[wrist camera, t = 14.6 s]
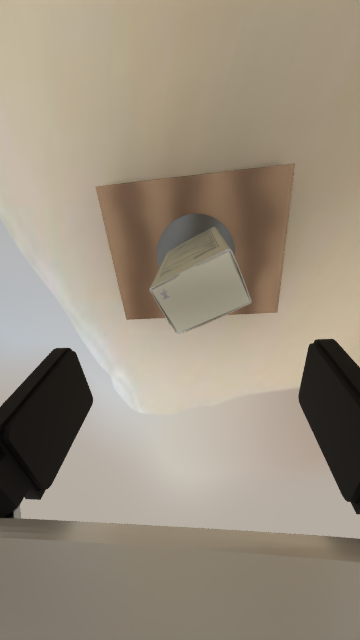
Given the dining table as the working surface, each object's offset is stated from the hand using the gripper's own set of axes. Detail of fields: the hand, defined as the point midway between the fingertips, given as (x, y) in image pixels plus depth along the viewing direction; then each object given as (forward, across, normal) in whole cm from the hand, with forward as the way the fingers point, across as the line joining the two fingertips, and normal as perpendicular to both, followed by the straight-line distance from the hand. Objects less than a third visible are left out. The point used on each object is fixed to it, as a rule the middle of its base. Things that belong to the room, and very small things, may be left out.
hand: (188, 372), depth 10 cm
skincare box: (+20, 0, 0) cm, 20 cm away
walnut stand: (+24, 0, 0) cm, 24 cm away
